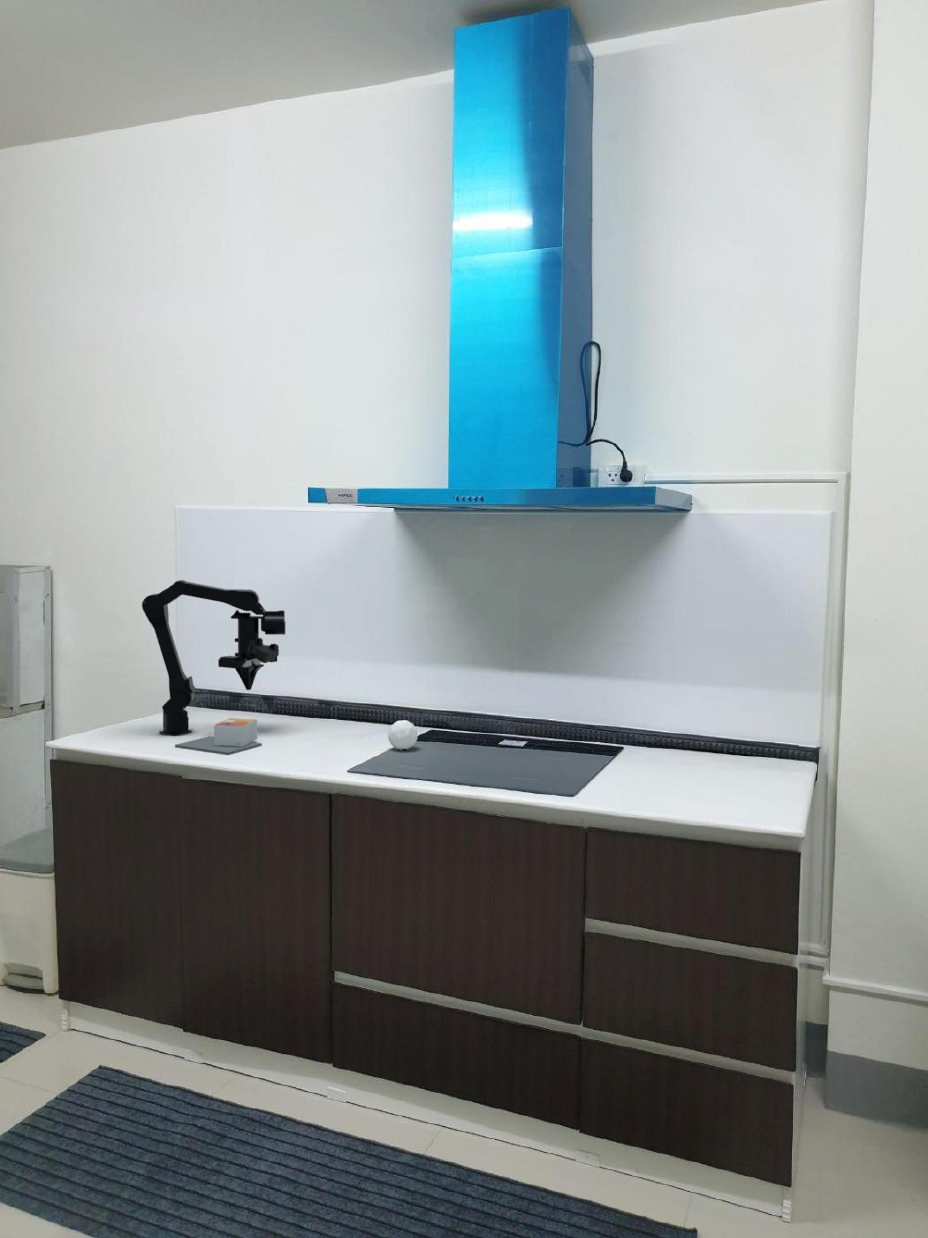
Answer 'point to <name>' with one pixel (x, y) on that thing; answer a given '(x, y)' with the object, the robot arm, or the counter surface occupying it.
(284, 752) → the counter surface
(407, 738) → the ball
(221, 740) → the small box
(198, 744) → the mat
